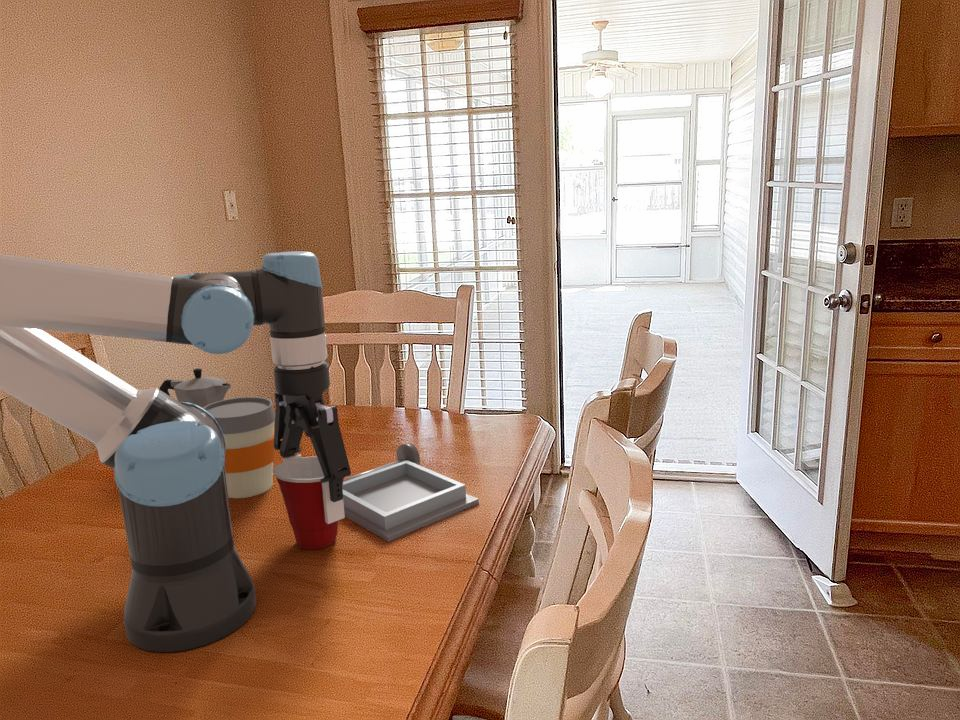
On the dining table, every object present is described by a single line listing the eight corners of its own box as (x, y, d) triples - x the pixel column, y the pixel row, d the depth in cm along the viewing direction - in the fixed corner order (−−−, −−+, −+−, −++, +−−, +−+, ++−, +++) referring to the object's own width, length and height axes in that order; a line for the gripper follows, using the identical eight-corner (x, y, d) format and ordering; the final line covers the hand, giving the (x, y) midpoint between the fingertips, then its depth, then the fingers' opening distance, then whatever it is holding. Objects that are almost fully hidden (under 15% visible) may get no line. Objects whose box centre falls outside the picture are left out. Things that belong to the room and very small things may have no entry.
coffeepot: (250, 448, 147) (240, 363, 143) (226, 465, 138) (215, 375, 134) (182, 445, 150) (170, 362, 146) (155, 462, 141) (141, 374, 137)
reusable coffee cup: (296, 485, 127) (288, 404, 124) (231, 509, 119) (220, 423, 115) (259, 468, 136) (251, 392, 132) (196, 490, 127) (184, 409, 123)
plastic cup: (369, 533, 108) (363, 458, 106) (318, 565, 100) (310, 485, 97) (317, 517, 114) (311, 446, 111) (264, 547, 105) (255, 470, 103)
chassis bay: (379, 545, 105) (376, 514, 103) (302, 500, 121) (300, 472, 120) (486, 500, 118) (484, 472, 117) (404, 464, 135) (402, 439, 134)
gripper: (369, 371, 94) (380, 524, 100) (286, 347, 111) (299, 479, 117) (319, 383, 90) (333, 543, 95) (240, 355, 106) (256, 493, 112)
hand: (314, 508), depth 106 cm, fingers closed on plastic cup, 11 cm apart
